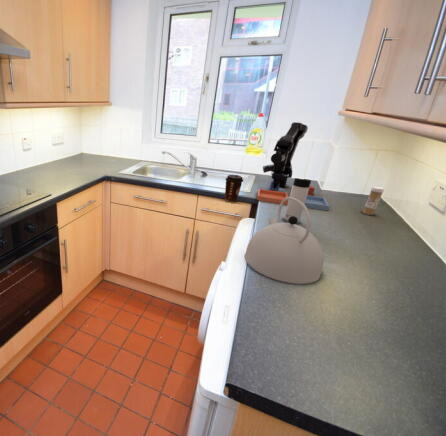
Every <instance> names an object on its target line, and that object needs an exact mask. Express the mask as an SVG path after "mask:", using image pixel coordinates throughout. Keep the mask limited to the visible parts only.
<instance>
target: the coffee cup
mask: <svg viewBox="0 0 446 436" xmlns="http://www.w3.org/2000/svg"><path fill="white" fill-rule="evenodd" d="M243 182H244V179H243V177H242V175H238V174H228V175H227V177H225V190H224V201H226V202H231V203H234V202H237V201H238V198H239V197H238V196H239V195H240V192H241V188H242V183H243Z"/></svg>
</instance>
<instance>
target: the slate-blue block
mask: <svg viewBox="0 0 446 436" xmlns="http://www.w3.org/2000/svg"><path fill="white" fill-rule="evenodd" d="M273 182H274V181H273V179H271V180H270V183H269V185H270V186H269V190H271V191H279V188H280V187H279V185H280V183H279V184H278V186H277V187H276V188H273Z"/></svg>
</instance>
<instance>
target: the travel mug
mask: <svg viewBox="0 0 446 436" xmlns="http://www.w3.org/2000/svg"><path fill="white" fill-rule="evenodd" d="M311 182H312V179H307V178H299V177H295V178H294V180H293V183H292V187H291V190H290V194H289V197H292V198H295V199H297V200H299V201H301V202H302V203H303V204H305V201H306V198H307V194H308V191H309V187H310V186H311ZM303 211H304V209H303V207H302V206H301V205H300V204H299V203H297V202H295V201H293V200H288V204H287V205H286V209H285V213H284V218H283V221H284V222H285V223H289V222H288V219H289V218H290V217H291V216H295V217H296V218H297V219H298V222H297V223H296V224H295V225H297V224H299V223H300V221H301V218H302V214H303Z"/></svg>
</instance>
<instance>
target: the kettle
mask: <svg viewBox="0 0 446 436" xmlns="http://www.w3.org/2000/svg"><path fill="white" fill-rule="evenodd" d="M286 200H288V201H289V200H293V201H295V202H297V203H299V204H300V205H301V206H302V207H303V211H304V212H305V216H306V223H307V224H306V228H304V227H303V226H301V225H297V224H298V223H297V222H298V219H297V218H296V217H295V216H291V217H290V218H289V219H288V222H289V223H288V222H281V214H282V213H281V212H282V208H283V205H284V202H285V201H286ZM311 221H312V220H311V214H310V212H309V208H307V207H306V206H305V205H304V204H303V203H302V202H301V201H299V200H297V199H295V198H292V197H290V196H288V197H287V198H285V199H284V200H283V201H282V202H281V204H279V206H278V209H277V219H276V218H275V217H270V218H268V225H266V226H264V227H262V228H261V229H259V230H258V231H256V232H255V233H254V235H252V237H250V240H249V242H248V243H247V247H246V250H245V253H244V261H245V262H246V264H247V265H248V266H249V267H250V268H252V270H254V271H256V272H257V273H259V274H262V276H265V277H267V278H270V279H273V280H277V281H279V282H282V283H283V282H284V283H289V284H295V285H304V284H305V285H306V284H307V285H308V284H312V283H315V282H317V281H318V280H319V279H320V278H321V274H322V270H323V268H324V267H323V266H324V260H325V259H324V258H325V257H324V251H323V249H322V246H321V244H320V242H319V241H318V239H317V238H316V237H315V236H314V235H313V234H312V233H311V232H310V231H311V225H312V224H311V223H312V222H311ZM296 223H297V224H296Z"/></svg>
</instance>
